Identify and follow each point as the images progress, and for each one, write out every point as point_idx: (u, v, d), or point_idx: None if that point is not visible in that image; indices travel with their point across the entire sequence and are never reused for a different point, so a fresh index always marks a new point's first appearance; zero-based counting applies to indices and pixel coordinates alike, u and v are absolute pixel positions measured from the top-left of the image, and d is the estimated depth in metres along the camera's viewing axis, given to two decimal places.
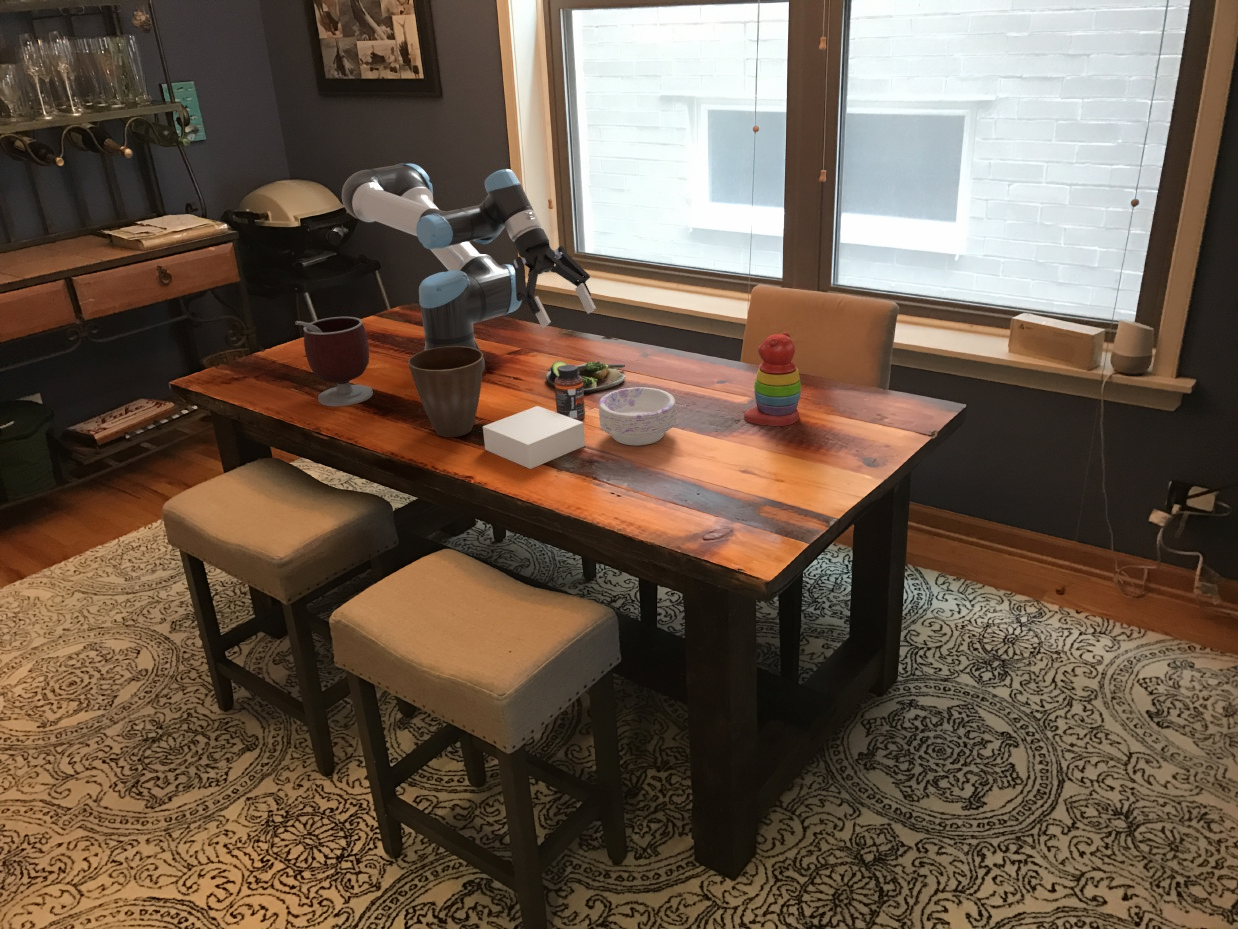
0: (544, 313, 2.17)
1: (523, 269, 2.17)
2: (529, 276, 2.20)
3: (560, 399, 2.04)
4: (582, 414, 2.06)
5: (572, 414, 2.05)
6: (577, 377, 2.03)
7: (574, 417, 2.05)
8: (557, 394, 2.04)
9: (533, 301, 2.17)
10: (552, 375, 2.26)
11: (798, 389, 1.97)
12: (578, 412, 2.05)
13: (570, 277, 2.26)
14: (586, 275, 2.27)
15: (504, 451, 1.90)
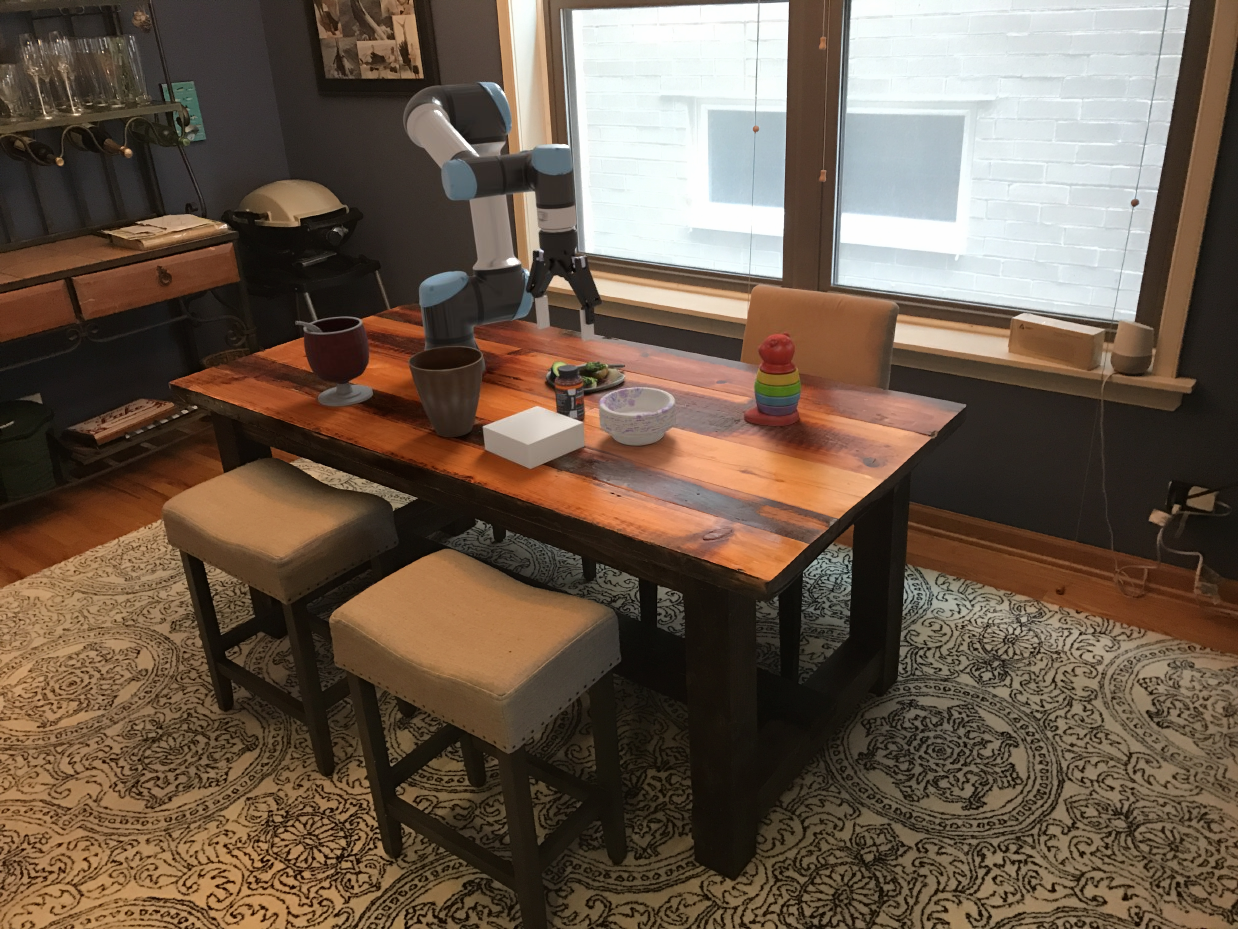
0: (537, 318, 2.03)
1: (534, 265, 1.98)
2: None
3: (560, 399, 2.04)
4: (582, 414, 2.06)
5: (572, 414, 2.05)
6: (577, 377, 2.03)
7: (574, 417, 2.05)
8: (557, 394, 2.04)
9: None
10: (552, 375, 2.26)
11: (798, 389, 1.97)
12: (578, 412, 2.05)
13: None
14: (589, 303, 1.90)
15: (504, 451, 1.90)
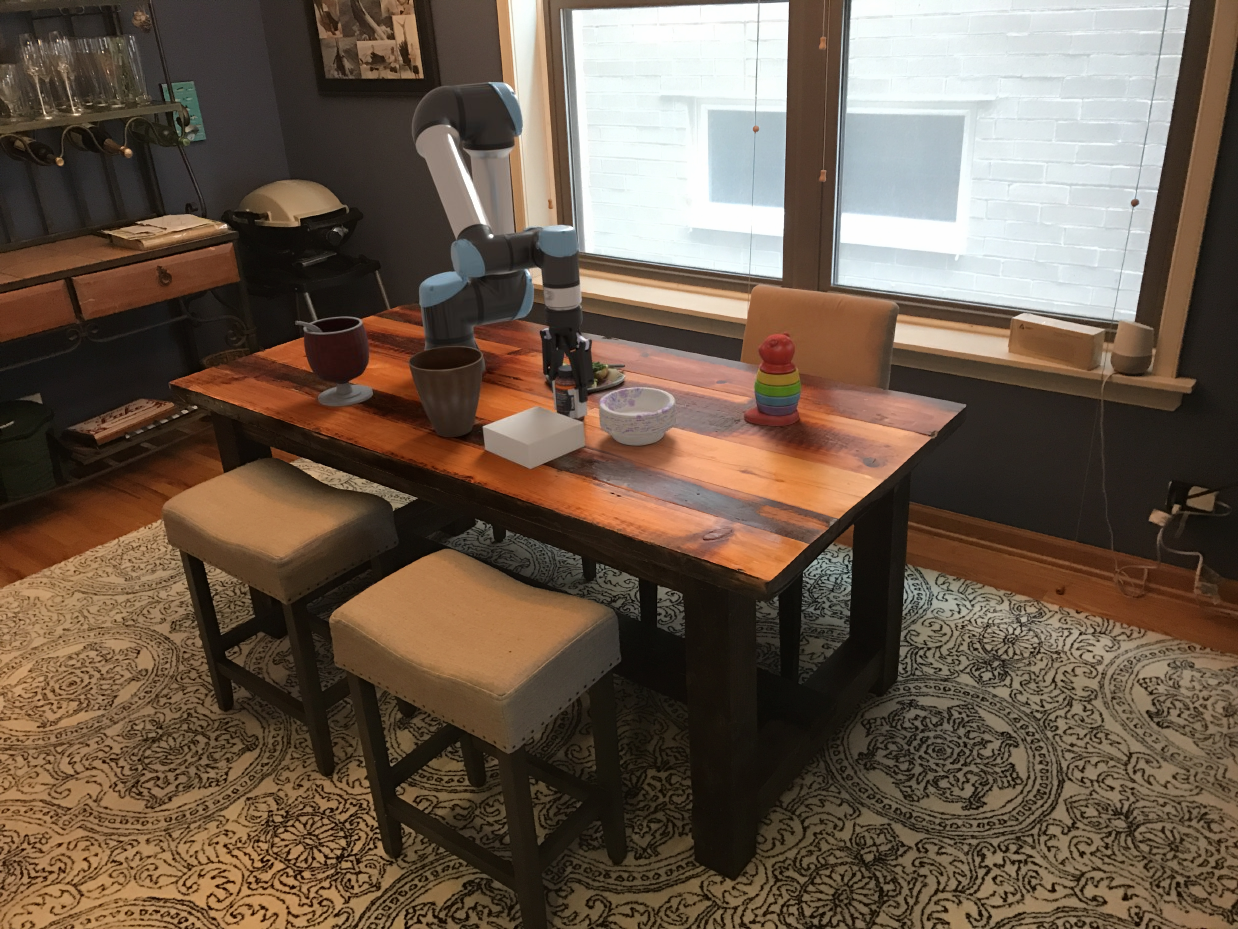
0: (554, 400, 2.08)
1: (544, 345, 2.04)
2: None
3: (560, 399, 2.04)
4: None
5: (572, 414, 2.05)
6: None
7: (574, 417, 2.05)
8: (557, 394, 2.04)
9: None
10: None
11: (798, 389, 1.97)
12: None
13: None
14: (582, 383, 1.99)
15: (504, 451, 1.90)
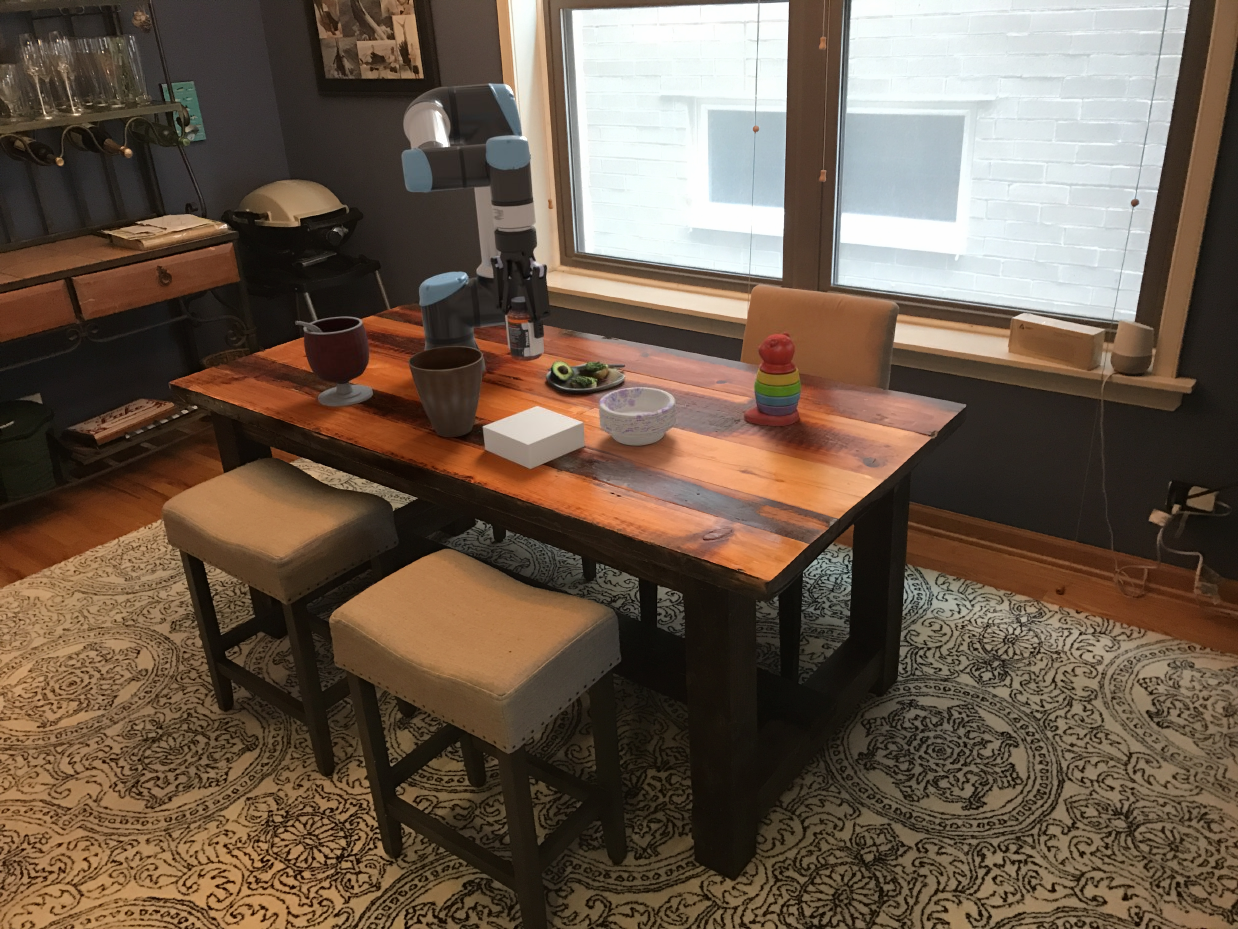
0: (508, 337, 1.87)
1: (496, 274, 1.83)
2: None
3: (513, 334, 1.83)
4: None
5: (526, 351, 1.83)
6: None
7: (529, 355, 1.84)
8: (510, 329, 1.83)
9: None
10: (552, 375, 2.26)
11: (798, 389, 1.97)
12: None
13: None
14: (537, 315, 1.78)
15: (504, 451, 1.90)
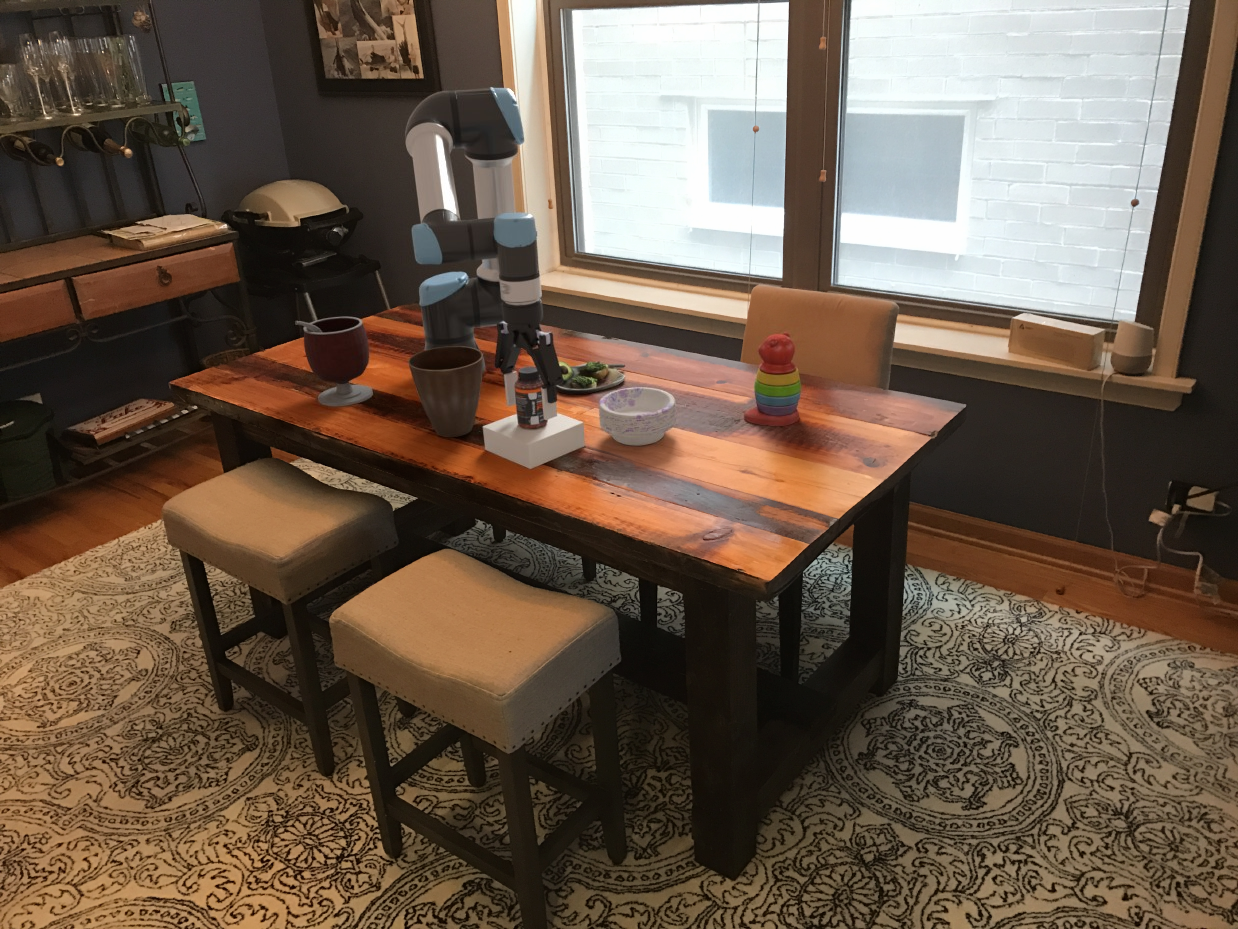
0: (506, 395, 1.94)
1: (500, 339, 1.89)
2: None
3: (520, 404, 1.88)
4: (544, 420, 1.91)
5: (533, 419, 1.89)
6: (538, 380, 1.88)
7: (535, 423, 1.90)
8: (517, 398, 1.89)
9: None
10: None
11: (798, 389, 1.97)
12: (539, 418, 1.90)
13: None
14: (550, 382, 1.82)
15: (504, 451, 1.90)
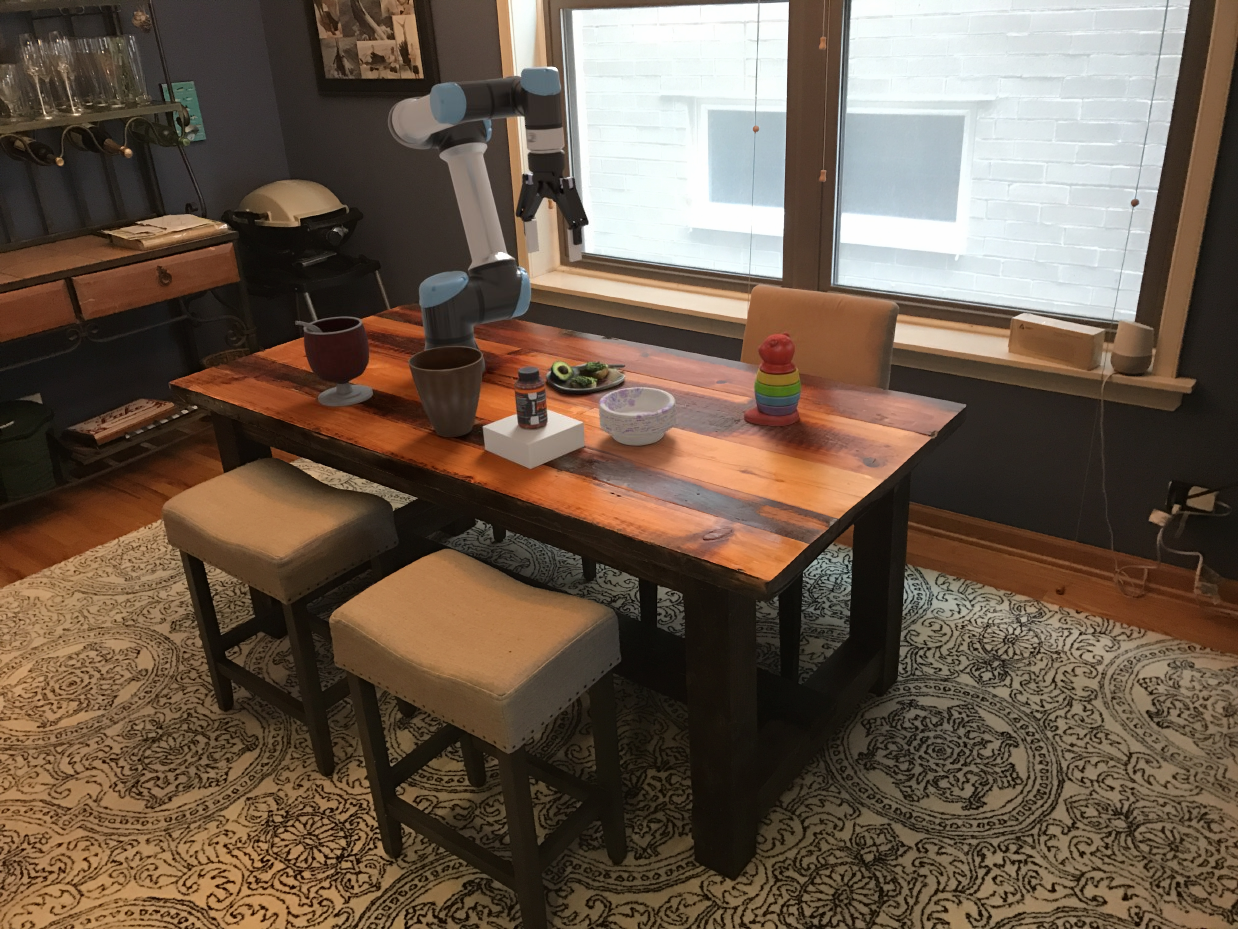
0: (526, 242, 2.09)
1: (523, 189, 2.04)
2: None
3: (520, 404, 1.88)
4: (544, 420, 1.91)
5: (533, 419, 1.89)
6: (538, 380, 1.88)
7: (535, 423, 1.90)
8: (517, 398, 1.89)
9: None
10: (552, 375, 2.26)
11: (798, 389, 1.97)
12: (539, 418, 1.90)
13: None
14: (576, 222, 1.95)
15: (504, 451, 1.90)
